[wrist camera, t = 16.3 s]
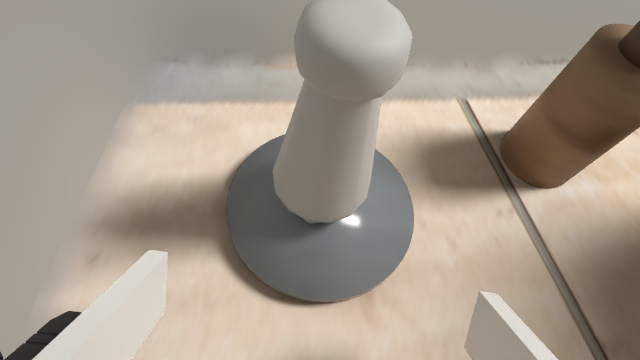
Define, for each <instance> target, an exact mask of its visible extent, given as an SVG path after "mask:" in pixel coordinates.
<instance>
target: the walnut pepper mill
mask: <svg viewBox="0 0 640 360" xmlns="http://www.w3.org/2000/svg"><path fill="white" fill-rule="evenodd" d="M639 127H640V21H639V22H638V23H637V24H636V25H635V26H631V25H625V24H609V25H605V26H603V27H601V28H600V29H599V30H598V31H597V32H596V33H595V34H594V35H593V36H592V37H591V39H590V40H589V41H588V42H587V43H586V45H584V47H583V48H582V49H581V50H580V51H579V52H578V53H577V55H576V56H575V57H574V58H573V59H572V60H571V61H570V62H569V64H568V65H567V66H566V67H565V68H564V69H563V70H562V72H561V73H560V74H559V75H558V76H557V77H556V78H555V80H554V81H553V82H552V83H551V84H550V85H549V86H548V87H547V89H546V90H545V91H544V92H543V93H542V94H541V95H540V97H539V98H538V99H537V100H536V101H535V102H534V103H533V105H532V106H531V107H530V108H529V109H528V110H527V111H526V113H525V114H524V115H523V116H522V117H521V118H520V119H519V120H518V122H517V123H516V124H515V125H514V126H513V127H512V128H511V130H510V131H509V132H508V133H507V134H506V135H505V136H504V138H503V139H502V141H501V145H500V151H501V155H502V158H503V160H504V162H505V164H506V165H507V167H508V168H509V169H510V170H511V171H512V172H513V173H514V174H515V175H516V176H517V177H519V178H520V179H522V180H523V181H525V182H527V183H529V184H531V185H534V186H537V187H541V188H555V187H559V186H561V185H563V184H564V183H565V182H567V181H568V180H569V179H571V178H572V177H573V176H575V175H576V174H577V173H579V172H580V171H581V170H583V169H584V168H585V167H587V166H588V165H589V164H591V163H592V162H593V161H595V160H596V159H597V158H599V157H600V156H601V155H603V154H604V153H605V152H607V151H608V150H610V149H611V148H612V147H614V146H615V145H616V144H618V143H619V142H620V141H622V140H623V139H624V138H626V137H627V136H628V135H630V134H631V133H632V132H634V131H635V130H636V129H638V128H639Z"/></svg>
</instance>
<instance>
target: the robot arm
mask: <svg viewBox="0 0 640 360" xmlns="http://www.w3.org/2000/svg"><path fill="white" fill-rule="evenodd" d="M167 264H168V252H164V251H156V250H148V251H147V252H146V253H145V254H144V255H143V256H142V257H141V258H140V259H139V260H138V261H137V262H136V263H134V264H133V265H132V266H131V267H130V268H129V269H128V270H127V271H126V272H125V273H124V274H123V275H122V276H121V277H120V278H118V279H117V280H116V281H115V282H114V283H113V284H112V285H111V286H110V287H109V288H108V289H107V290H106V291H105V292H104V293H103V294H101V295H100V296H99V297H98V298H97V299H96V300H95V301H94V302H93V303H92V304H91V305H90V306H89V307H88V308H87V309H85V310H84V311H83V312H73V311H68V312H66V313H64V314H62V315H60V316H58V317H56V318H54V319H52V320H50V321H49V322H48V323H47V324H46V325H44V326H43V327H42V328H41V329H40V330H39V331H37V334H34V335H33V336H31V337H30V338H29V339H28V340H27V341H26V343H25V344H22V345H21V346H20V347H19V348H17V349H16V350H15V351H14V352H13V353H12V354H10V355H9V356H8V357H7V358H6V359H5V360H132V359H133V357H134V356H135V355H136V353H137V352H138V350H139V349H140V347H141V346H142V344H143V343H144V341H145V340H146V339H147V337H148V336H149V334H150V333H151V331H152V330H153V328H154V327H155V325H156V324H157V323H158V321H159V320H160V318H161V317H162V315H163V314H164V312H165V301H166V283H167ZM464 347H465V349H466V350H467V352H468V354H469V355H470V357H471V359H472V360H558V359H557V358H556V357H555V355H554V354H553V353H552V352H551V351H550V350H549V349H548V348H547V347H546V346H545V345H544V344H543V343H542V341H541V340H540V339H539V338H538V337H537V336H536V335H535V334H534V333H533V332H532V331H531V330H530V329H529V327H528V326H527V325H526V324H525V323H524V322H523V321H522V320H521V319H520V318H519V317H518V316H517V314H516V313H515V312H514V311H513V310H512V309H511V308H510V307H509V306H508V305H507V304H506V303H505V302H504V300H503V299H502V298H501V297H500V296H499V295H498V294H497V293H491V292H483V291H479V294H478V298H477V302H476V305H475V309H474V313H473V316H472V320H471V324H470V328H469V331H468V335H467V339H466V342H465V346H464ZM0 360H3V356H2V354H1V352H0Z"/></svg>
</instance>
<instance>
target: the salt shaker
mask: <svg viewBox="0 0 640 360" xmlns="http://www.w3.org/2000/svg"><path fill="white" fill-rule="evenodd" d="M412 36H413V35H412V33H411V31H410V29H409V27H408V25H407V23H406V21H405V19H404V17H403V15H402V14H401V12H400V11H399V10H398V9H396V8H395V7H394V6H393V5H392V4H390V3H389V2H388V1H387V0H315V1H313V2H311V3H310V4H308V5H306V6H305V8H304V10H303V12H302V15H301V16H300V19H299V21H298V24H297V28H296V32H295V35H294V43H295V55H296V60H297V65H298V69H299V72H300V74H301V75H302V77H303V78H304V79H305V80H304V83H303V86H302V89H301V91H300V94H299V97H298V100H297V103H296V106H295V109H294V112H293V115H292V118H291V121H290V123H289V126H288V129H287V132H286V135H285V138H284V141H283V144H282V147H281V150H280V152H279V155H278V157H277V160H276V163H275V165H274V168H273V179H274V188H275V192H276V194H277V196H278V197H279V198H280V200H281V201H282V202H283V204H284V205H285V206H286V208H287V209H288V210H289V211H290V212H292V213H294V214H296V215H298V216H299V217H301V218H303V219H304V220H305V221H306V222H307V223H308V224H311V223H320V222H324V223H332V222H335V221H337V220H340V219H343V218H346V217H349V216H351V215H352V214H353V212H354V211H355V210H356V209H357V208H358V207H359V206H360V205H361V204H362V203H363V202H364V201H365V199H366V198H367V194H368V189H369V185H370V181H371V174H372V167H373V159H374V151H375V144H376V136H377V128H378V121H379V113H380V106H381V98H382V96H383V95H384V94H386V93H387V92H388V91H389V90H390V89H391V88H392V87H393V86H394V85H395V84H396V83H397V82H398V81H399V80H400V78H401V76H402V74H403V72H404V70H405V68H406V65H407V60H408V56H409V52H410V46H411V41H412Z"/></svg>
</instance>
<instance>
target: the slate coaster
mask: <svg viewBox="0 0 640 360" xmlns="http://www.w3.org/2000/svg"><path fill="white" fill-rule="evenodd" d="M285 135H286V134H285ZM285 135H282V136H279V137H277V138H275V139H272V140H270V141H269V142H267V143H265V144H263V145H262V146H260V147H259V148H258V149H256V150H255V151H254V152H253V153H252V154H251V155H250V156H249V157H248V158H247V159H246V160H245V161H244V162H243V164H242V165H241V166H240V167H239V169H238V171H237V173H236V174H235V176H234V178H233V181H232V183H231V186H230V189H229V194H228V198H227V221H228V225H229V230H230V234H231V238H232V241H233V243H234V246H235V249H236V251H237V253H238V254H239V256H240V258H241V260H242V261H243V262H244V264H245V265H246V266H247V268H248V269H249V270H250V271H251V272H252V273H253V274H254V275H255V276H256V277H257V278H258V279H259V280H260V281H262V282H263V283H264V284H266V285H267V286H268V287H270V288H272V289H273V290H275V291H277V292H279V293H281V294H283V295H286V296H288V297H291V298H294V299H298V300H302V301H306V302H315V303H334V302H340V301H345V300H349V299H352V298H355V297H358V296H361V295H363V294H365V293H367V292H369V291H371V290H372V289H374V288H375V287H377V286H378V285H379V284H381V283H382V282H383V281H384V280H385V279H386V278H387V277H388V276H389V275H390V274H391V273H392V272H393V271H394V270H395V269H396V267H397V266H398V265H399V263H400V262H401V261H402V259H403V257H404V256H405V254H406V252H407V250H408V247H409V244H410V242H411V238H412V233H413V226H414V213H413V205H412V201H411V197H410V194H409V191H408V189H407V186H406V184H405V182H404V180H403V179H402V177H401V175H400V174H399V173H398V171H397V170H396V168H395V167H394V166H393V165H392V164H391V163H390V161H389V160H388V159H386V158H385V157H384V156H383V155H382V154H381V153H380V152H378V151H377V150H376V149H375V151H374V159H373V167H372V174H371V181H370V185H369V189H368V194H367V198H366V199H365V201H364V202H363V203H362V204H361V205H360V206H359V207H358V208H357V209H356V210H355V211H354V212H353V214H352V215H351V216H349V217H346V218H343V219H340V220H337V221H335V222H332V223H324V222H320V223H311V224H308V223H307V222H306V221H305V220H304V219H303V218H301V217H299V216H298V215H296V214H294V213H292V212H290V211H289V210H288V209H287V208H286V206H285V205H284V204H283V202H282V201H281V200H280V198H279V197H278V196H277V194H276V192H275V188H274V179H273V168H274V165H275V163H276V160H277V157H278V155H279V152H280V150H281V147H282V144H283V141H284V138H285Z"/></svg>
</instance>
